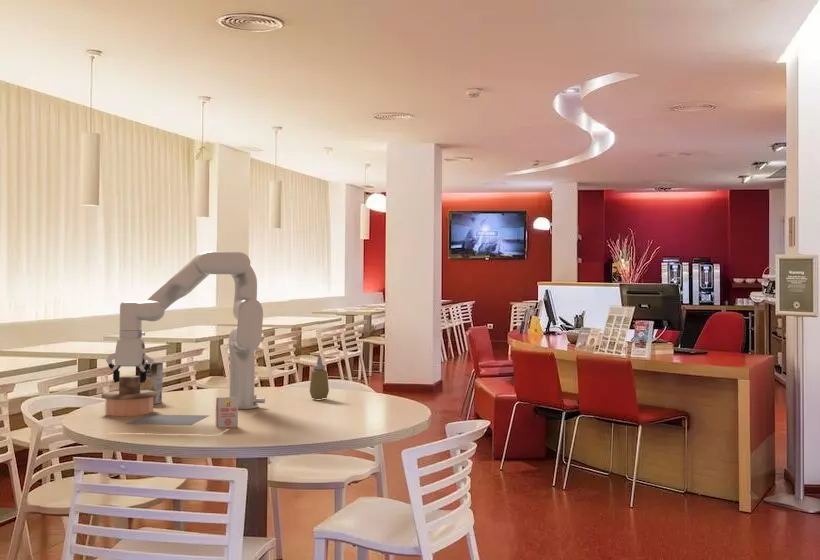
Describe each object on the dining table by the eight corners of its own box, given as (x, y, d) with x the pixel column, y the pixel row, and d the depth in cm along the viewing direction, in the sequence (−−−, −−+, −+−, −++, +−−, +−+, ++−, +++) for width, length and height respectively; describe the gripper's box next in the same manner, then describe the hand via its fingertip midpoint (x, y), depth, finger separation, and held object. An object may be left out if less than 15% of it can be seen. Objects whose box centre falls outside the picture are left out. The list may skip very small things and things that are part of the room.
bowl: (159, 410, 288) (159, 393, 288) (142, 417, 272) (142, 399, 272) (117, 410, 288) (117, 392, 289) (97, 417, 273) (98, 398, 273)
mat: (209, 417, 274) (209, 415, 275) (190, 426, 255) (190, 425, 255) (149, 416, 276) (149, 414, 276) (125, 425, 256) (125, 423, 256)
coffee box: (133, 403, 306) (134, 363, 306) (141, 401, 312) (141, 361, 312) (156, 404, 305) (156, 363, 305) (162, 402, 311) (163, 362, 311)
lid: (164, 393, 289) (165, 374, 289) (144, 400, 270) (145, 380, 270) (115, 392, 290) (115, 373, 290) (92, 399, 271) (92, 379, 271)
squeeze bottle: (307, 398, 324) (307, 356, 324) (325, 398, 327) (326, 355, 327) (312, 401, 317) (312, 357, 317) (331, 400, 320) (331, 357, 320)
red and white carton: (215, 427, 255) (216, 396, 255) (236, 426, 257) (236, 396, 257) (216, 429, 251) (217, 398, 251) (237, 428, 253) (238, 397, 253)
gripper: (157, 334, 284) (156, 381, 284) (111, 334, 285) (111, 380, 284) (149, 336, 276) (149, 383, 276) (102, 335, 277) (101, 383, 277)
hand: (129, 382), depth 280 cm, fingers open, 9 cm apart
